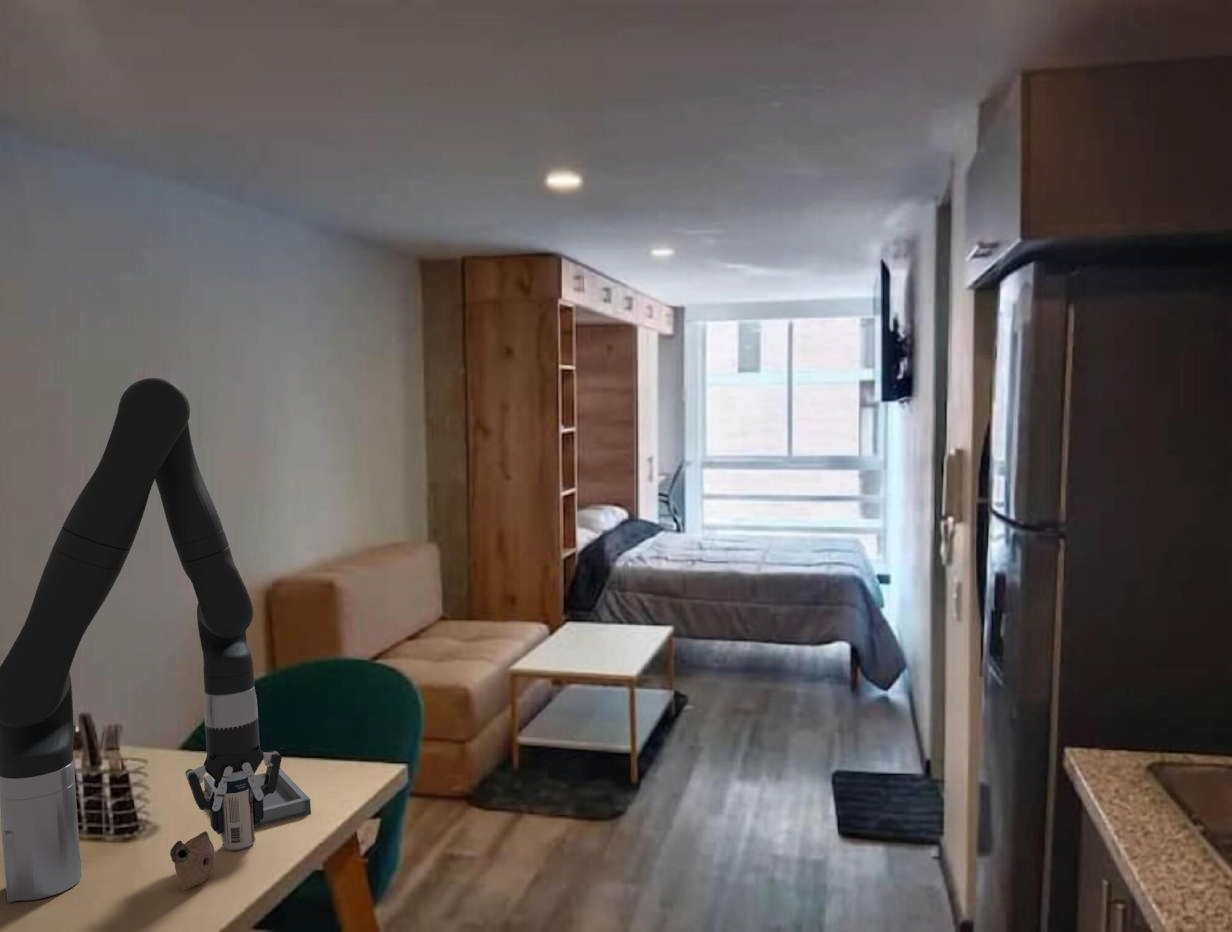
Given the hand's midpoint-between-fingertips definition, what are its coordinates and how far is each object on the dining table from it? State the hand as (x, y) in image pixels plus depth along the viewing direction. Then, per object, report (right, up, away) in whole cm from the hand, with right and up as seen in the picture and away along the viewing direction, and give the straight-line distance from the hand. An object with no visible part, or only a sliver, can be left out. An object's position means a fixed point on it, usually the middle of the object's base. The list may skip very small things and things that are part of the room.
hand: (238, 826), depth 150 cm
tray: (-3, -2, +17) cm, 18 cm away
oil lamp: (-1, -4, -13) cm, 13 cm away
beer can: (0, -3, 0) cm, 3 cm away
